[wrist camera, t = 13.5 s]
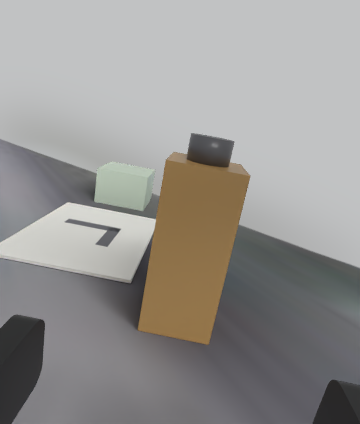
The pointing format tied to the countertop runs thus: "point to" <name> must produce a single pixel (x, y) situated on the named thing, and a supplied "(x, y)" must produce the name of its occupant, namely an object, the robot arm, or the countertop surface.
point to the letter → (83, 242)
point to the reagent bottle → (193, 239)
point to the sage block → (124, 185)
